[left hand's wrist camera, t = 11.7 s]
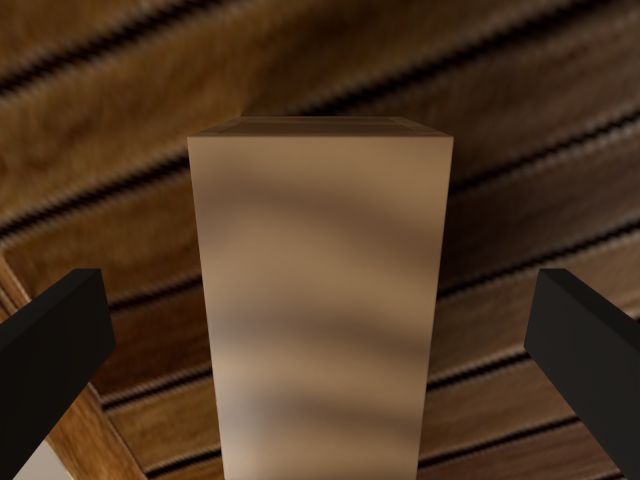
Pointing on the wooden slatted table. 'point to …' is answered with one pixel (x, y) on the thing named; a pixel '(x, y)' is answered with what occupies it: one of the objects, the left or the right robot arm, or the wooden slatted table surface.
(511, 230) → the wooden slatted table surface
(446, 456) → the wooden slatted table surface
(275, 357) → the cabinet
